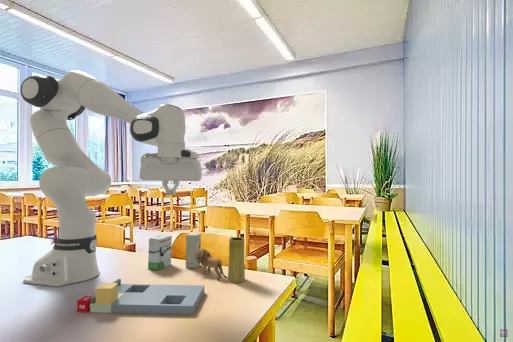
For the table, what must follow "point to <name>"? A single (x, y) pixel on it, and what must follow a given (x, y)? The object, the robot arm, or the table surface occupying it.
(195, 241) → the box
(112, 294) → the block
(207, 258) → the lion figurine
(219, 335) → the table surface
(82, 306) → the red letter cube
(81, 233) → the robot arm
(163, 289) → the board
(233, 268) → the vase
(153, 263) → the ink box
